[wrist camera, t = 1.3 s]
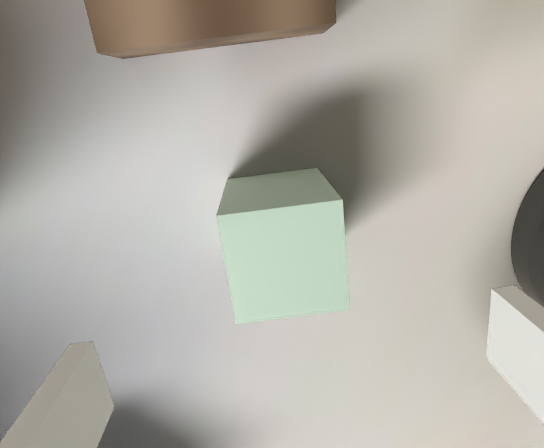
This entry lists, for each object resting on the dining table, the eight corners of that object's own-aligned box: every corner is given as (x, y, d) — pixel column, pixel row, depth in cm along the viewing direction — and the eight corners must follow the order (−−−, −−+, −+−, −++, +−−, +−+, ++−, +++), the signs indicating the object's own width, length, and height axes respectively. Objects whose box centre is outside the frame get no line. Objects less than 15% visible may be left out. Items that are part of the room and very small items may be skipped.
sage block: (316, 167, 26) (342, 199, 18) (323, 250, 28) (349, 309, 20) (227, 178, 26) (216, 215, 18) (240, 260, 28) (235, 324, 20)
